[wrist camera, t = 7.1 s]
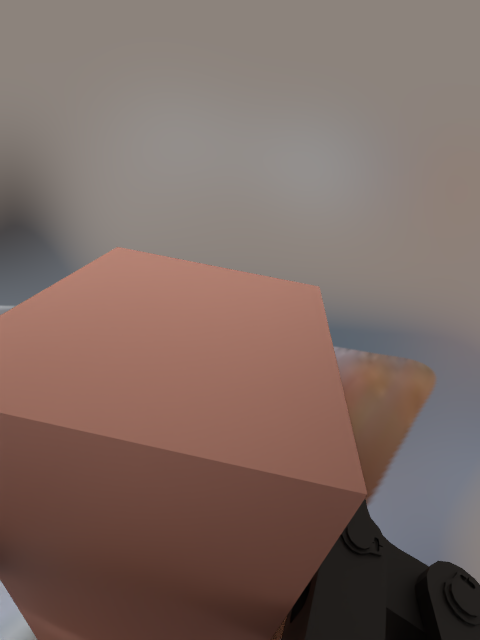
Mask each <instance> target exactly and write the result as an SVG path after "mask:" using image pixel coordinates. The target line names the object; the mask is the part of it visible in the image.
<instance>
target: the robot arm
mask: <svg viewBox="0 0 480 640" xmlns="http://www.w3.org/2000/svg"><path fill="white" fill-rule="evenodd" d="M281 640H480V585H479V583H478V582H477V581H476V580H475V579H474V578H473V577H472V576H471V575H469V574H468V573H467V572H466V571H465V570H463V569H462V568H460V567H458V566H456V565H454V564H452V563H450V562H443V561H437V562H436V563H434V564H432V565H431V566H429V567H428V566H427V565H425V564H424V563H422V562H420V561H419V560H417V559H415V558H414V557H412V556H410V555H408V554H407V553H405V552H403V551H402V550H400V549H398V548H397V547H395V546H394V545H393V544H391V543H390V542H389V541H388V540H387V539H386V538H385V537H384V536H383V535H382V533H381V531H380V529H379V528H378V526H377V525H376V524H375V523H374V521H373V520H372V519H371V518H370V515H369V512H368V509H367V505H366V500H365V499H364V501H363V502H362V504H361V505H360V507H359V508H358V510H357V511H356V513H355V514H354V516H353V517H352V519H351V520H350V522H349V523H348V525H347V526H346V528H345V529H344V531H343V532H342V534H341V535H340V537H339V538H338V540H337V541H336V543H335V544H334V546H333V547H332V549H331V550H330V552H329V553H328V555H327V556H326V558H325V559H324V561H323V562H322V564H321V565H320V567H319V568H318V570H317V571H316V573H315V574H314V576H313V577H312V579H311V580H310V582H309V583H308V585H307V586H306V588H305V589H304V591H303V592H302V594H301V595H300V597H299V598H298V600H297V601H296V603H295V604H294V606H293V607H292V609H291V610H290V612H289V613H288V615H287V619H286V623H285V627H284V631H283V635H282V639H281Z"/></svg>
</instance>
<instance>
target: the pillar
mask: <svg viewBox="0 0 480 640" xmlns="http://www.w3.org/2000/svg"><path fill="white" fill-rule="evenodd" d="M367 495H368V494H367V490H366V486H365V481H364V477H363V473H362V468H361V464H360V460H359V455H358V451H357V447H356V443H355V438H354V434H353V430H352V425H351V421H350V417H349V412H348V408H347V404H346V399H345V395H344V391H343V387H342V382H341V378H340V374H339V369H338V365H337V361H336V356H335V352H334V348H333V344H332V339H331V335H330V331H329V326H328V322H327V318H326V314H325V309H324V305H323V301H322V297H321V292H320V288H319V287H317V286H313V285H308V284H303V283H297V282H293V281H288V280H283V279H278V278H273V277H267V276H262V275H257V274H252V273H247V272H242V271H236V270H232V269H227V268H222V267H216V266H212V265H207V264H201V263H196V262H191V261H186V260H181V259H176V258H171V257H166V256H161V255H156V254H150V253H145V252H140V251H135V250H130V249H125V248H120V247H117V248H115V249H113V250H111V251H110V252H108V253H106V254H105V255H103V256H101V257H100V258H98V259H96V260H94V261H93V262H91V263H89V264H87V265H86V266H84V267H82V268H81V269H79V270H77V271H76V272H74V273H72V274H70V275H69V276H67V277H65V278H64V279H62V280H60V281H58V282H57V283H55V284H53V285H52V286H50V287H48V288H47V289H45V290H43V291H41V292H40V293H38V294H36V295H34V296H33V297H31V298H30V299H28V300H26V301H24V302H23V303H21V304H19V305H17V306H16V307H14V308H12V309H11V310H9V311H7V312H5V313H4V314H2V315H0V580H1V581H2V583H3V585H4V586H5V588H6V589H7V591H8V593H9V594H10V596H11V597H12V599H13V601H14V602H15V604H16V605H17V607H18V609H19V610H20V612H21V613H22V615H23V617H24V618H25V620H26V621H27V623H28V625H29V626H30V628H31V630H32V631H33V633H34V634H35V636H36V638H37V639H38V640H271V639H272V637H273V636H274V634H275V633H276V631H277V630H278V628H279V627H280V625H281V624H282V622H283V621H284V619H285V618H286V616H287V615H288V613H289V612H290V610H291V609H292V607H293V606H294V604H295V603H296V601H297V600H298V598H299V597H300V595H301V594H302V592H303V591H304V589H305V588H306V586H307V585H308V583H309V582H310V580H311V579H312V577H313V576H314V574H315V573H316V571H317V570H318V568H319V567H320V565H321V564H322V562H323V561H324V559H325V558H326V556H327V555H328V553H329V552H330V550H331V549H332V547H333V546H334V544H335V543H336V541H337V540H338V538H339V537H340V535H341V534H342V532H343V531H344V529H345V528H346V526H347V525H348V523H349V522H350V520H351V519H352V517H353V516H354V514H355V513H356V511H357V510H358V508H359V507H360V505H361V504H362V502H363V501H364V499H365V498H366V496H367Z"/></svg>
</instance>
